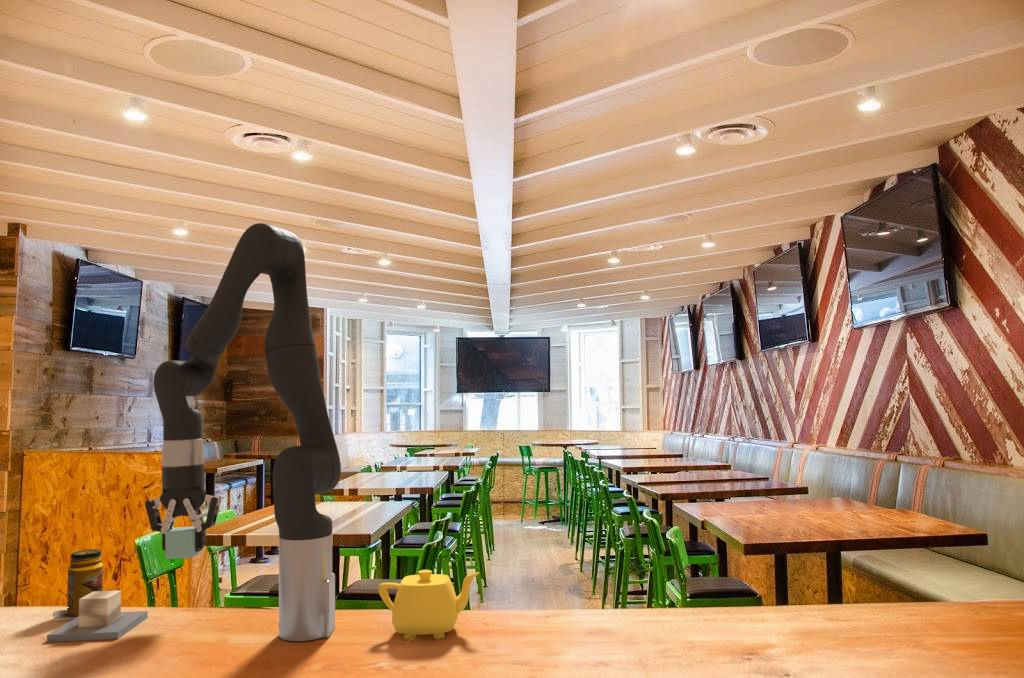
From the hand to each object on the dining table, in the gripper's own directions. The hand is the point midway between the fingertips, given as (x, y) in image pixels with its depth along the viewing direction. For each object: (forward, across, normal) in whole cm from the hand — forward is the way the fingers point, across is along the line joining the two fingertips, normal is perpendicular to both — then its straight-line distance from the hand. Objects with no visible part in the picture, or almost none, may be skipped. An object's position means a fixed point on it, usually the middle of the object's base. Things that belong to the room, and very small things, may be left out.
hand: (183, 551), depth 139 cm
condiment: (+12, +22, -6) cm, 26 cm away
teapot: (+14, -47, +14) cm, 51 cm away
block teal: (+1, 0, 0) cm, 1 cm away
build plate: (+12, +14, +4) cm, 19 cm away
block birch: (+11, +13, +4) cm, 18 cm away
